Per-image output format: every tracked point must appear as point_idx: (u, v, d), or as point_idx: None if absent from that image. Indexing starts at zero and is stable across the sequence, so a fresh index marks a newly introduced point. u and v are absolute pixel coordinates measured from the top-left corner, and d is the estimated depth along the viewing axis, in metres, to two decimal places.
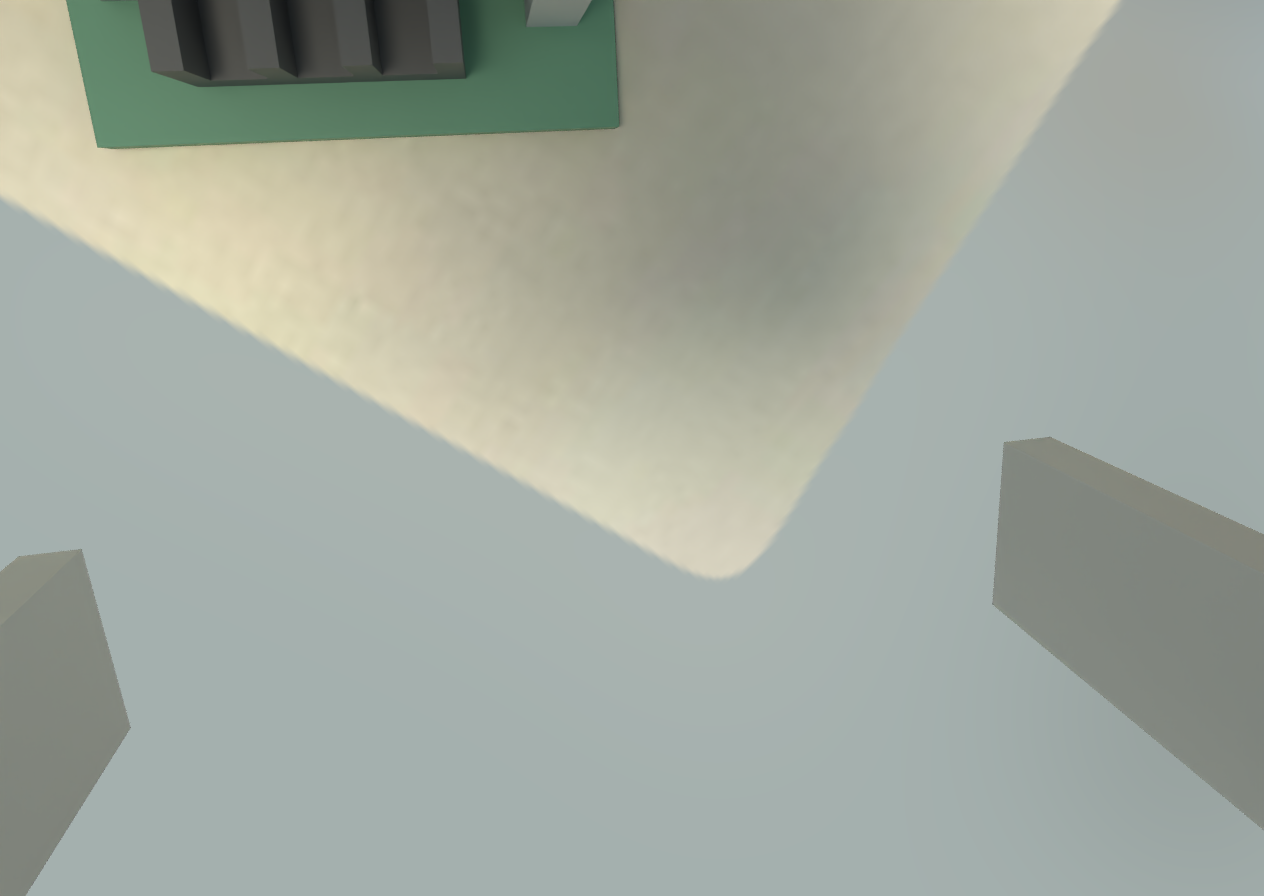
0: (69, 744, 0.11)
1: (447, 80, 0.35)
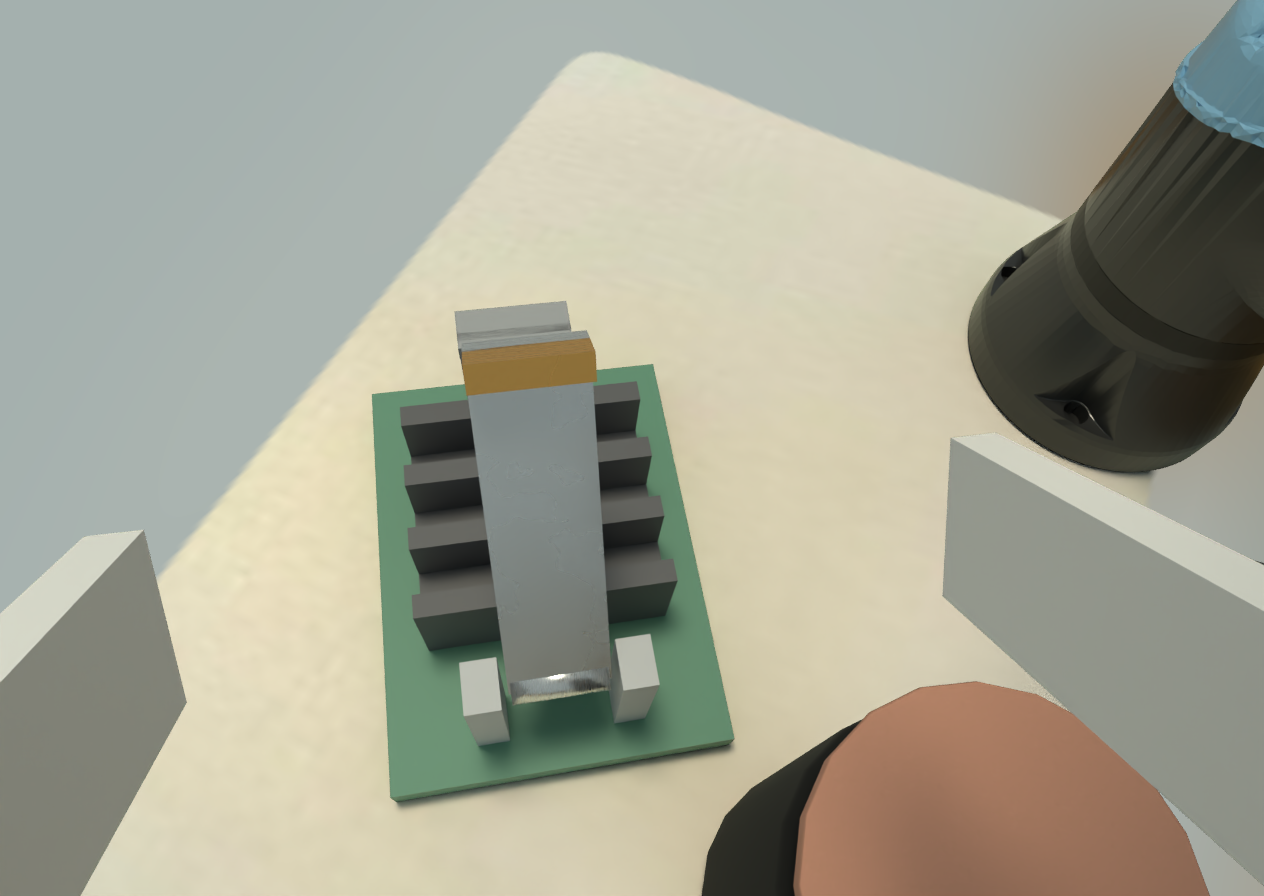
0: (136, 714, 0.11)
1: None
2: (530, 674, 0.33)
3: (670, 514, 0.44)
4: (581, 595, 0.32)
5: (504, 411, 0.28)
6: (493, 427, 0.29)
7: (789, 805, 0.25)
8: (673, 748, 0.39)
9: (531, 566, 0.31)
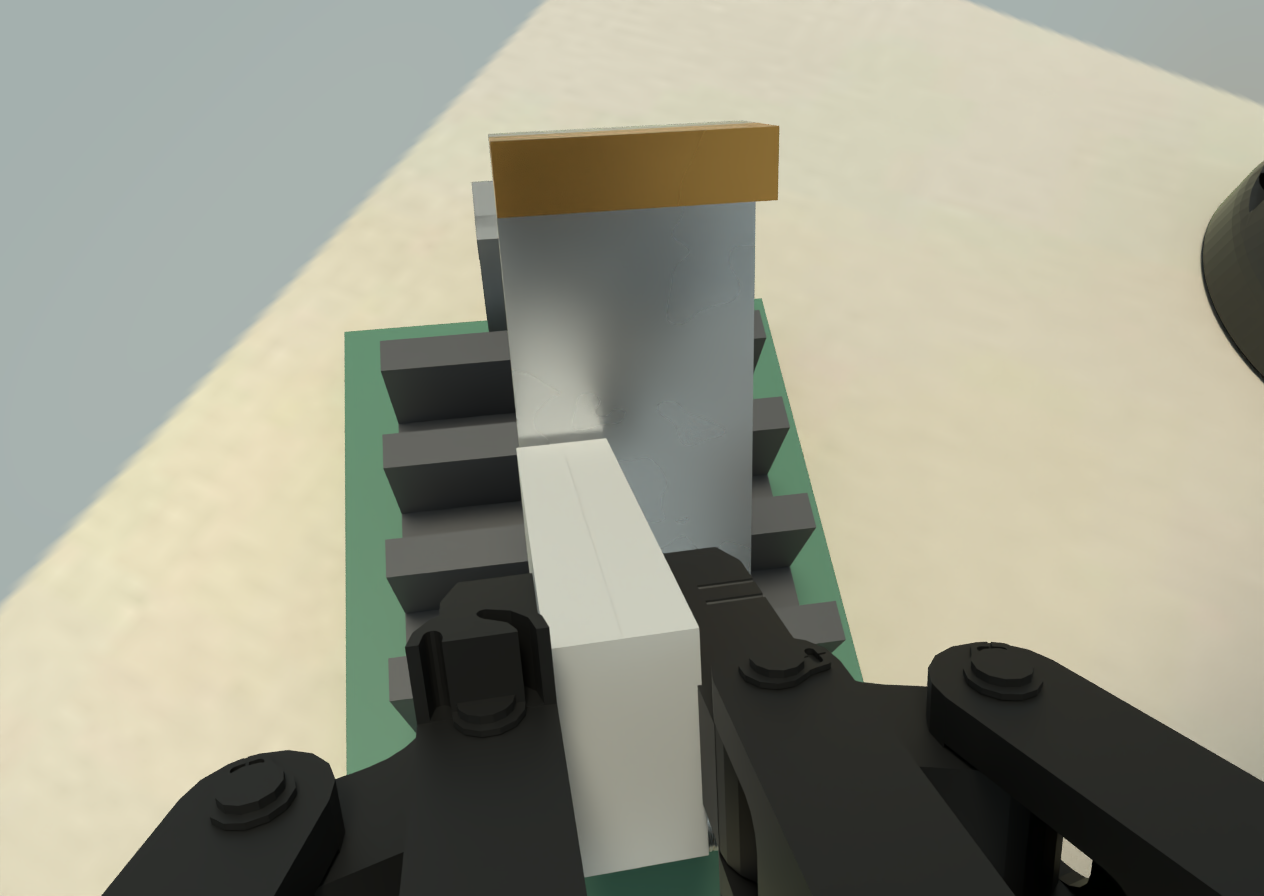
0: None
1: None
2: None
3: None
4: None
5: (573, 280, 0.14)
6: (549, 315, 0.14)
7: None
8: None
9: None
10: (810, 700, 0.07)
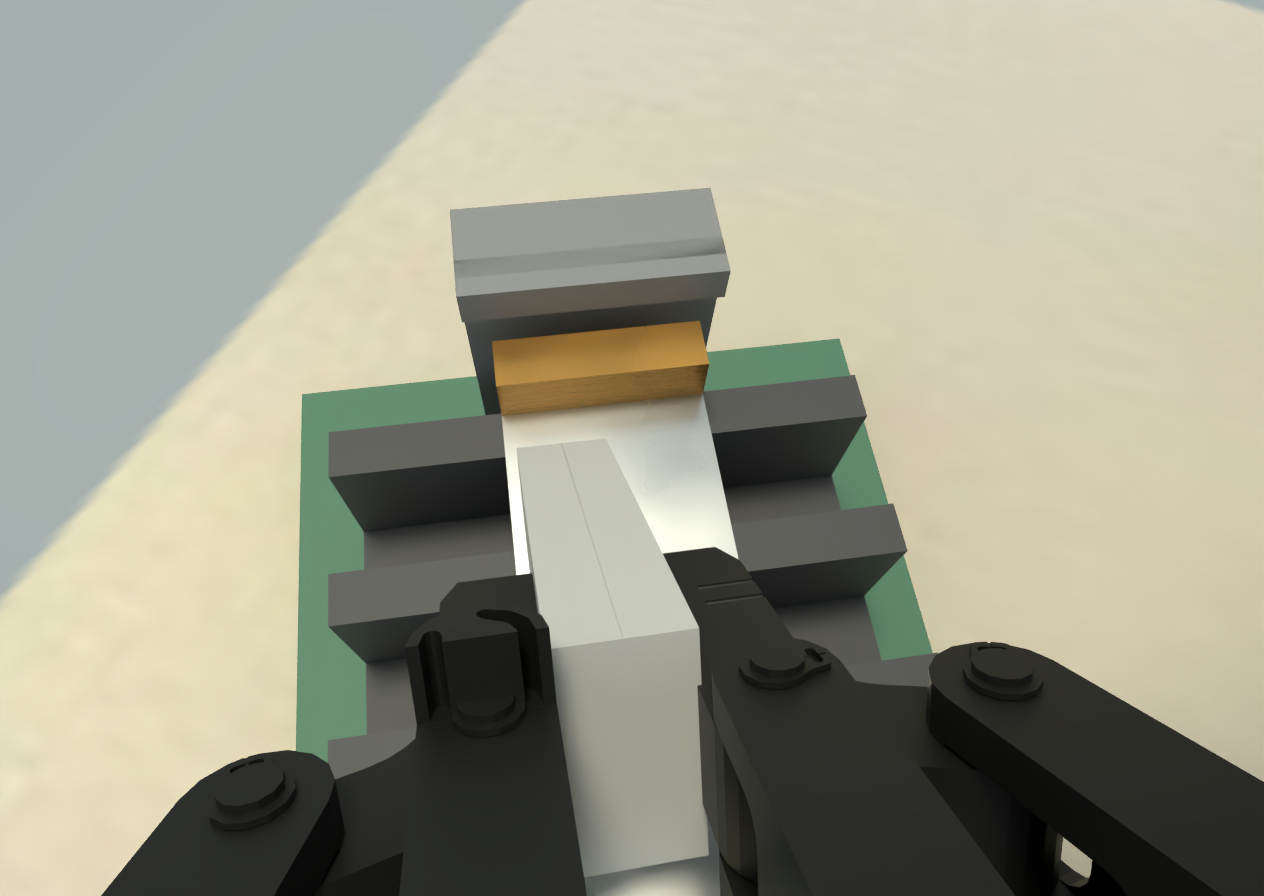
0: None
1: None
2: None
3: (900, 649, 0.21)
4: None
5: None
6: None
7: None
8: None
9: None
10: (810, 700, 0.07)
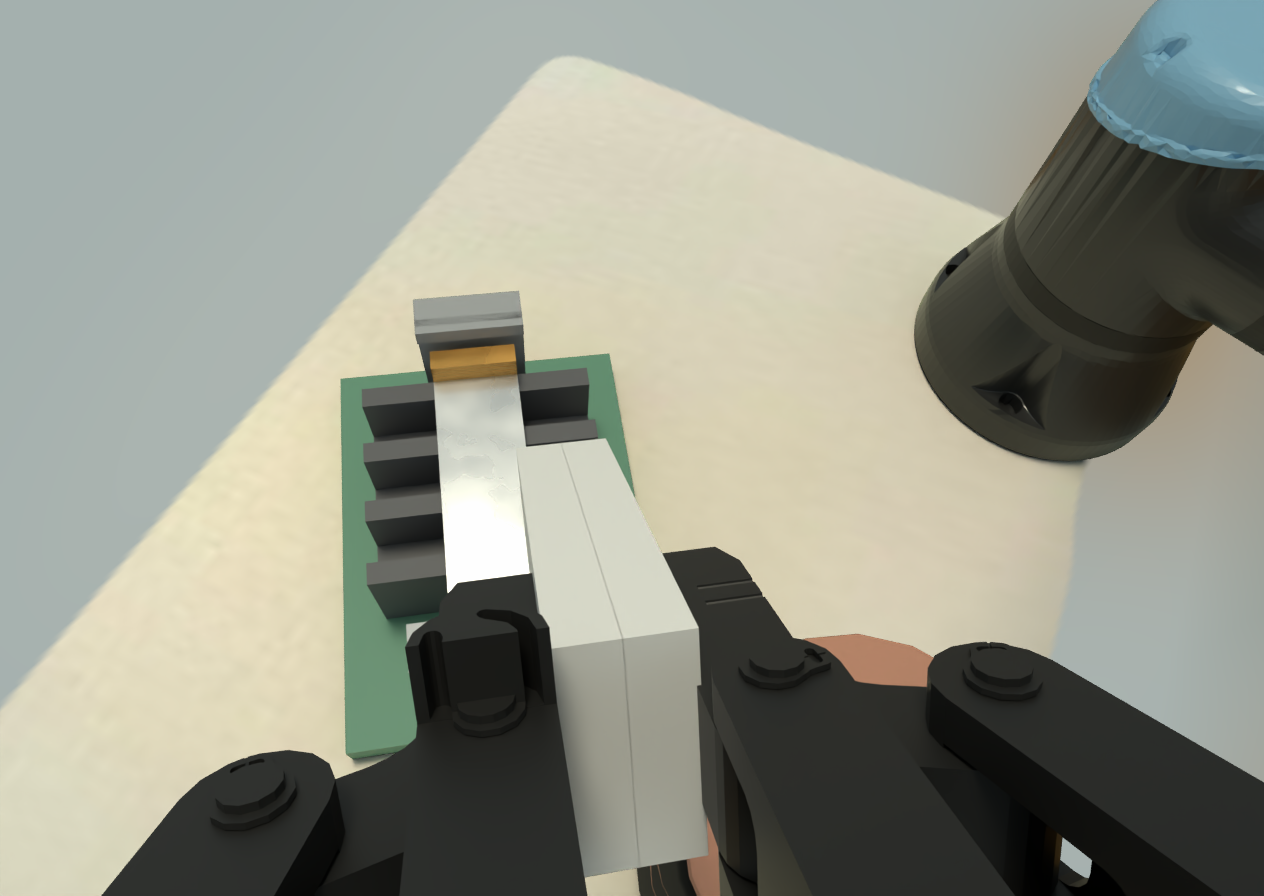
0: None
1: None
2: None
3: None
4: (516, 543, 0.39)
5: (458, 400, 0.42)
6: (450, 410, 0.42)
7: None
8: None
9: (474, 515, 0.39)
10: (810, 700, 0.07)
